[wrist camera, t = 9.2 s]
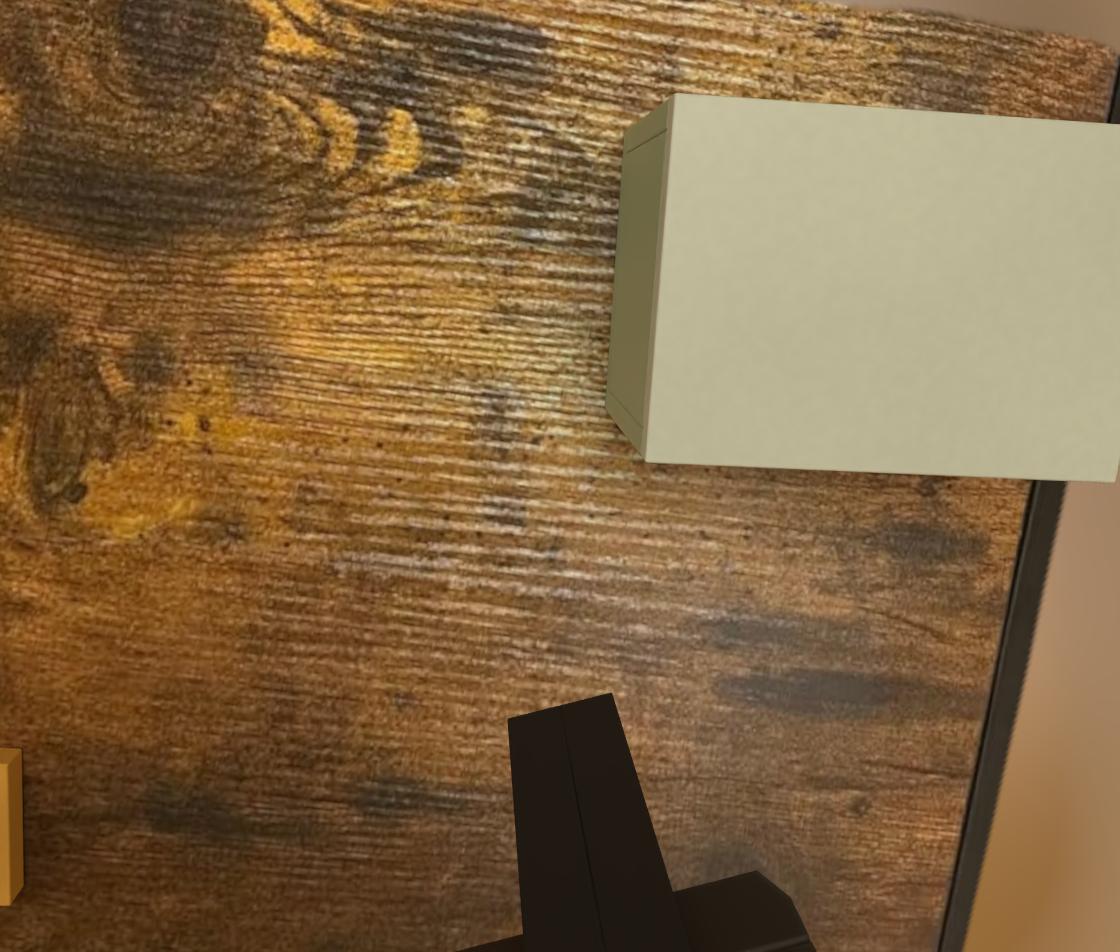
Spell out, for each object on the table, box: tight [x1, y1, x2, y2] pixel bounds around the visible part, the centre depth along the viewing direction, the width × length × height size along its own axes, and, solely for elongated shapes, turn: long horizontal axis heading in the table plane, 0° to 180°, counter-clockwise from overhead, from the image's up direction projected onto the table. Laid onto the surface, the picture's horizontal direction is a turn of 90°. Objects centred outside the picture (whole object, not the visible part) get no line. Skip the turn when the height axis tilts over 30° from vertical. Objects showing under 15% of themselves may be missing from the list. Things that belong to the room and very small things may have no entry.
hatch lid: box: [641, 93, 1120, 483], centre depth 26 cm, size 14×10×1 cm
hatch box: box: [605, 98, 670, 456], centre depth 30 cm, size 13×10×8 cm
